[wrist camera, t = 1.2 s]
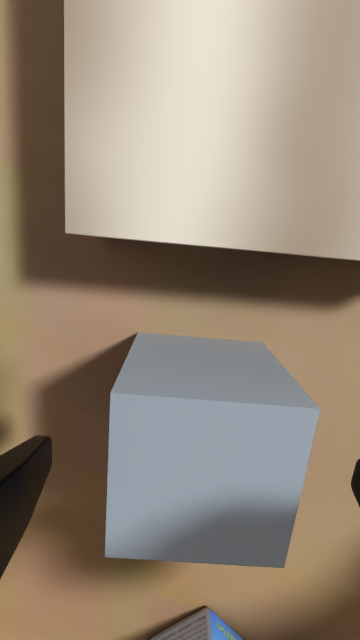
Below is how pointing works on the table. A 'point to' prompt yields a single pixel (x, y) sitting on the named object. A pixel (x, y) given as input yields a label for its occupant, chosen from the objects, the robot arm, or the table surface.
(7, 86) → the table surface
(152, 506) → the grey cube
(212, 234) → the cream block
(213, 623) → the medicine box
